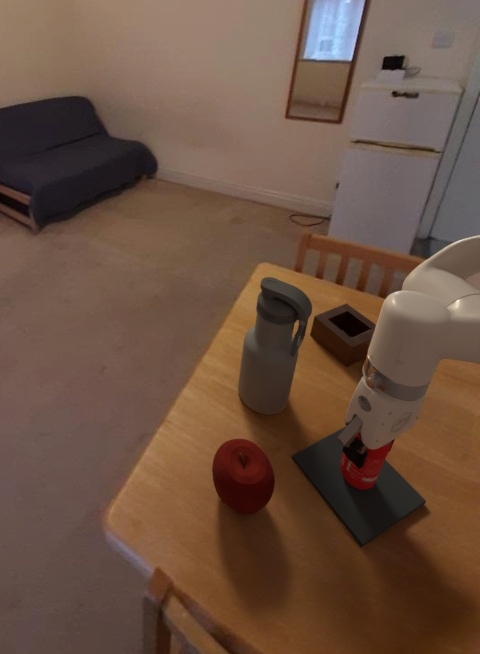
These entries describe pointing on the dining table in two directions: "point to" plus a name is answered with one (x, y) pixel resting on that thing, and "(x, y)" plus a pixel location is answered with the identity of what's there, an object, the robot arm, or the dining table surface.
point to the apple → (243, 476)
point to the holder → (338, 342)
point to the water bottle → (273, 346)
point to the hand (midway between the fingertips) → (366, 450)
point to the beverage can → (365, 467)
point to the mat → (357, 491)
